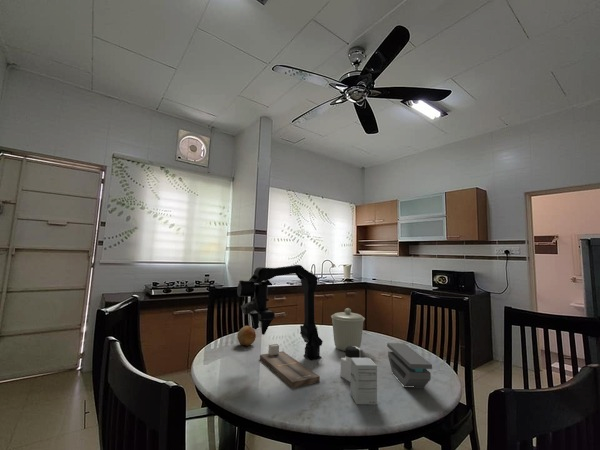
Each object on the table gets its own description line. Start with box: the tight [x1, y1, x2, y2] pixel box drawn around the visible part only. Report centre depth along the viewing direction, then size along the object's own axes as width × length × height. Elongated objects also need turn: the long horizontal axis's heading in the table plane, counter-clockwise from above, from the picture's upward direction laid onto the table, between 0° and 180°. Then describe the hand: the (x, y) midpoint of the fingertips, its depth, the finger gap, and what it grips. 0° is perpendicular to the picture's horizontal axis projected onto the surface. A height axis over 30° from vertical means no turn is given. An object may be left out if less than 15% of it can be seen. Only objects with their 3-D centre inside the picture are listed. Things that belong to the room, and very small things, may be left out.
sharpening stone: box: [386, 342, 433, 388], centre depth 114 cm, size 25×8×11 cm, turn 2°
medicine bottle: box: [340, 346, 361, 383], centre depth 114 cm, size 7×7×12 cm
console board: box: [259, 350, 321, 389], centre depth 120 cm, size 12×32×2 cm, turn 30°
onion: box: [236, 325, 257, 347], centre depth 151 cm, size 10×10×10 cm
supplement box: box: [350, 357, 378, 405], centre depth 98 cm, size 7×7×13 cm
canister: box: [330, 307, 366, 352], centre depth 152 cm, size 18×18×21 cm
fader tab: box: [267, 343, 280, 355], centre depth 133 cm, size 4×3×4 cm
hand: (259, 331), depth 124 cm, fingers open, 9 cm apart
